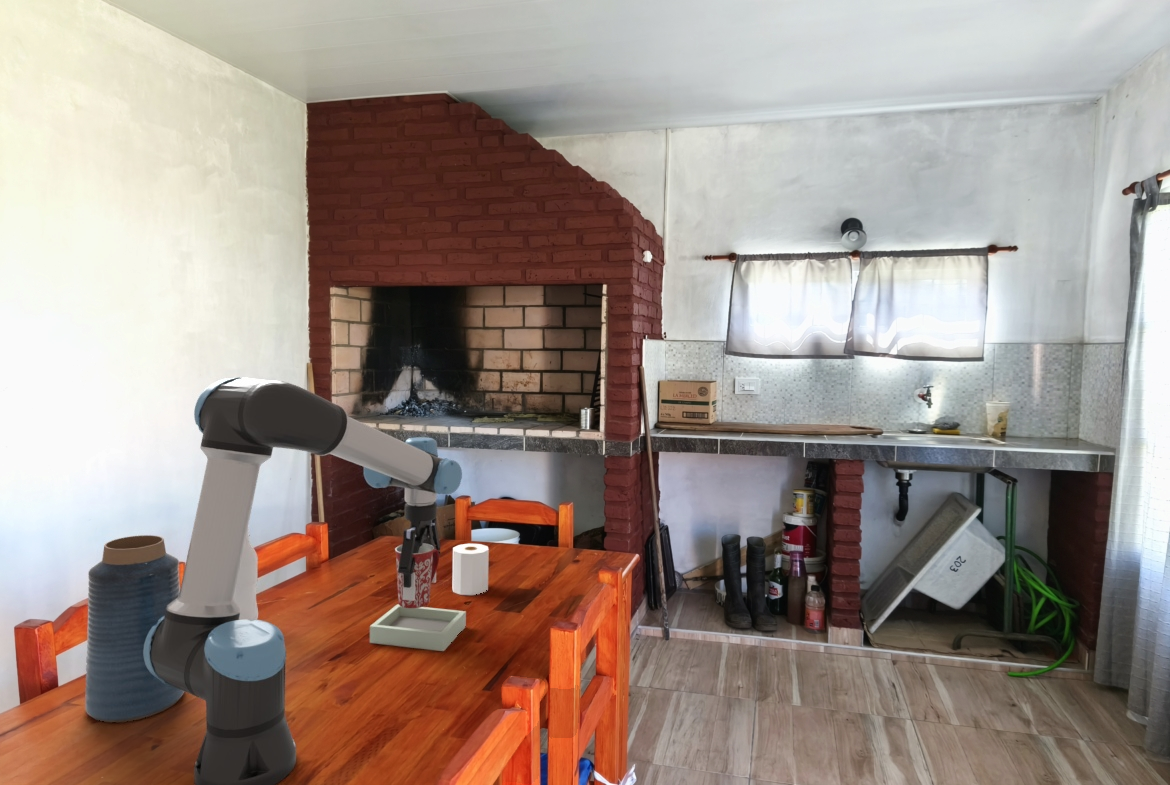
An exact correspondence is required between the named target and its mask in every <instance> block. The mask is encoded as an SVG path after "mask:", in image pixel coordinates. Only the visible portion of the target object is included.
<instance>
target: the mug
mask: <svg viewBox="0 0 1170 785" xmlns="http://www.w3.org/2000/svg"><path fill="white" fill-rule="evenodd" d="M402 545H403V544H400V545H398V546H397V547H395V548H394V551H395V558H396V562H395V563H396V578H397V580H396V581H397V583H396V584H397V598H398V601H397V602H398V604H399V605H400V606H401V607H404V608H420V607H426V606H427V605H429V604H430V601H431V600H430V599H431V589H432V588H431V586H432V583H431V582H432V580H433V578H434V575H435V573H436V574H437V569H438V567H439V562H440V556H439V552H438V550H436V549H434V546H432V545H430V544H426V543H423V545H422V546H420V548H419V552H418V554H413V557H415V567H414V571H413V572H415V600H414V601H410V600H403V573H398V568H399V562H400V556H401V550H402ZM413 557H412V558H413Z"/></svg>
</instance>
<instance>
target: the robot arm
mask: <svg viewBox="0 0 1170 785" xmlns="http://www.w3.org/2000/svg"><path fill="white" fill-rule="evenodd" d="M194 406H195V407H194V413H193V414H194V415H193V417H194V421H195V425H197V427H198V430H199V432H201V434H202V437H201V442H200V448H199V449H200V450H201V451H202V453H203V454H204V455H205V456H206V458H207V462H206V466H205V470H204V476H203V478H202V479H203V480H202V485H201V490H200V494H199V499H198V503H197V507H196V508H197V509H196V514H195V517H194V518H195V519H194V521H193V522H194V523H193V527H192V528H193V529H192V532H191V538H190V540H189V542H190V543H189V546H188V547H189V548H188V550H187V555H186V562H185V566H184V571H183V575H182V579H181V583H180V584H181V585H180V593H179V596H178V598H176V599H175V600H174V601H172V602H171V603H170V604H168V605H167V608H166V612H165V616H163V617H162V618H160V619H159V620H158V623H157V624H156V625H155V626H153V627H152V628H151V630H150V631H149V633H148V635H147V637H146V640H145V643H144V650H143V655H144V661H145V664H146V667H147V669H148V670H149V671H150V673H151V674H152V675H153V676H155V677H156V678H158V679H159V680H161V681H162V682H163V683H164V684H166V685H168V686H171V687H176V688H178V689H180V690H183V691H184V693H187V694H190V695H192V696H194V697H197V698H199V699H201V700H202V701H205V703H206V704H205V705H206V708H205V710H206V711H205V713H206V732H205V735H204V737H203V739H202V740H203V741H202V742H201V746H200V749H199V751H198V755H197V757H196V761H195V764H194V774H193V775H194V780H193V781H194V785H277V784H278V783H279V782H281V781H282V780H284V779H285V778H286V777H287V776H288V775H290V773H291V772H292V771H293V769H294V768H295V766H296V763H297V745H296V742H295V740H294V738H293V736H292V733H291V732H292V731H291V730H290V727H289V725H288V721H287V718H286V707H285V706H286V660H287V651H286V645H285V644H286V643H285V638H284V637H285V636H284V634H283V632H282V630H280V628H279V627H277V626H276V625H275V624H274V623H271V622H268V621H266V620H261V619H257V620H254V621H250V620H249V619H243V620H239V616H240V612H241V609H240V607H239V606H238V605H237V603H236V602H235V601H234V594H235V589H236V584H237V579H238V574H239V569H240V564H241V559H242V554H243V549H244V544H245V539H246V534H247V529H248V530H249V524H250V518H251V513H252V506H253V503H254V497H255V493H256V488H257V483H258V478H259V473H260V468H261V466H262V464H264V463H265V462H267V461H268V460H269V459H271V458H272V455H273V449H274V448H277V449H278V448H280V449H286V450H287V449H289V450H297V451H302V452H307V453H311V454H313V455H316V456H320V457H323V456H327V455H333V456H335V457H337V458H339V459H343V460H345V461H348V462H351V463H353V464H355V465H358V466H360V467H361V466H362V467H363V477H364V479H365V481H366V483H367V484H368V485H369V486H370V487H371V488H375V489H379V488H383V489H384V488H387V487H399V488H404V502H405V504H404V519H405V520H407V521H409V522H410V526H409V529H407V528H405V529H404V530H403V539H402V544H401V545H402V550H401V556H400V562H399V568H398V573H403V600H410V601H414V600H415V572H413V571H414V567H415V557H413V554H418V552H419V548H420V546H422V545H423V543H426V544H430V545H432V546H434V549H436V550H438V552H439V557H440V556H441V544H440V538H439V530H438V526H437V517H438V516H437V515H438V509H437V508H438V504H437V502H436V501H437V497H438V496H437V495H452V494H454V493H456V491H457V490H458V489H459V488H460V485H461V482H462V479H463V472H462V471H463V470H462V467H461V465H460V463H459V462H458V461H456V460H453V459H449V458H447V457H446V458H445V457H444V458H442V457H439V455H438V444H437V440H436V439H435V438H432V437H424V436H422V437H419V436H418V437H416V436H415V437H408V439H406V440H405V441H403V440H400V439H398V438H396V437H394V436H392V435H389V434H387V433H386V432H383V431H381V430H379V429H377V428H376V427H375V428H374V427H372V426H370V425H368V424H365V423H364V422H361V421H359V420H357V419H355V418H353V417H350V416H348V412H347V411H346V410H345V409H344V408H343V407H341V406H340V405H338V404H336V403H334V402H332V401H329V400H328V399H325V397H324V398H323V397H322V396H320V395H317V394H316V393H313V392H311V391H309V390H307V389H305V388H303V387H300V386H299V385H296V384H292V383H290V382H286V381H281V380H268V379H261V378H251V377H241V376H239V377H231V378H227V377H226V378H222V379H220V380H216V381H214V382H213V383H211V384H210V385H208V386H207V387H206V388H205V389H204V390H203V391H202V392H201V393H200V395H199V396H198V398H197V400H196V403H195V405H194ZM412 557H413V558H412ZM432 583H433V584H434V583H435V584H436V583H437V572H436V573H435V575H434V578H433V580H432V582H431V584H432Z"/></svg>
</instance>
